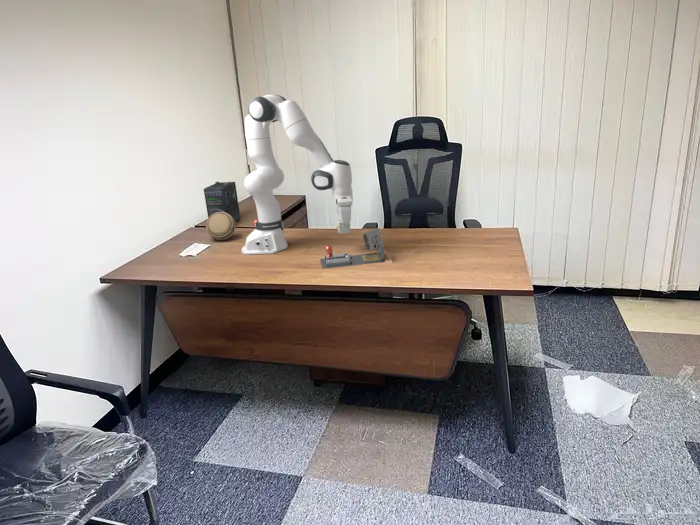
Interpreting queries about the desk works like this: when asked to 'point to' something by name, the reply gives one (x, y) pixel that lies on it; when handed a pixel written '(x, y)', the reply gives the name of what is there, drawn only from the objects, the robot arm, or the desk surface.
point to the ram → (331, 256)
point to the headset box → (222, 199)
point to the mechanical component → (220, 225)
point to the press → (355, 259)
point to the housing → (340, 227)
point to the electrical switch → (372, 238)
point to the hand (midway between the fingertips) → (343, 227)
